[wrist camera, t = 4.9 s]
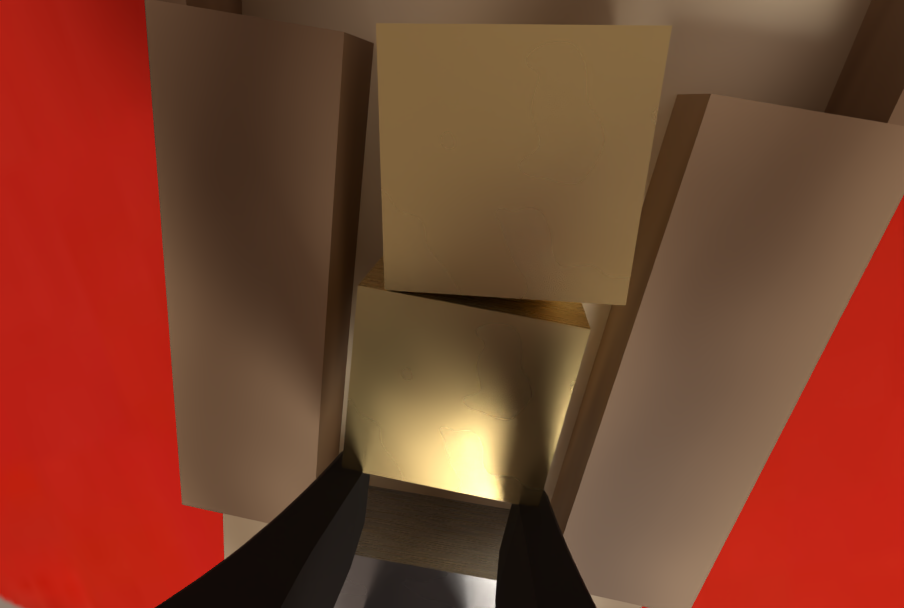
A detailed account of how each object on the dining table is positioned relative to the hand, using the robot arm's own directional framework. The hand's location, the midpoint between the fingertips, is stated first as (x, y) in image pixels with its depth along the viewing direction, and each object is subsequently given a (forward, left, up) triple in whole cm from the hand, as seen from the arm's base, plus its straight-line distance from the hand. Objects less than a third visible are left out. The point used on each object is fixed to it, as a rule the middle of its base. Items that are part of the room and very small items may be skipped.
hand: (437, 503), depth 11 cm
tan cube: (0, -3, -3) cm, 5 cm away
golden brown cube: (0, -7, -3) cm, 8 cm away
